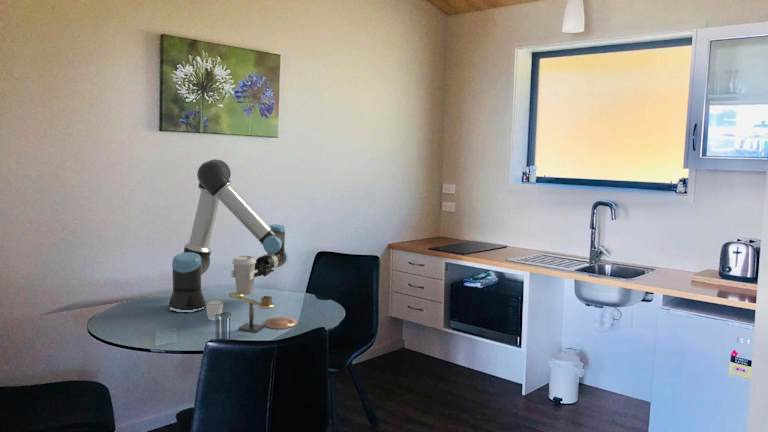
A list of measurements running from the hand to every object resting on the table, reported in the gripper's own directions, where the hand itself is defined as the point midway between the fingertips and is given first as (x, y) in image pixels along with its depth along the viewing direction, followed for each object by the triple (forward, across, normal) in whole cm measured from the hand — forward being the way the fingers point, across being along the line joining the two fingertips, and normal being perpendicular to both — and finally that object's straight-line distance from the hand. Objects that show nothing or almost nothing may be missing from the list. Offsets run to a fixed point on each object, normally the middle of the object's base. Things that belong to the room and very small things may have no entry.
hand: (240, 275), depth 250 cm
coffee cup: (-4, 0, -9) cm, 9 cm away
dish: (-4, -16, -19) cm, 26 cm away
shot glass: (0, +12, -20) cm, 23 cm away
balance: (+6, -8, -20) cm, 22 cm away
